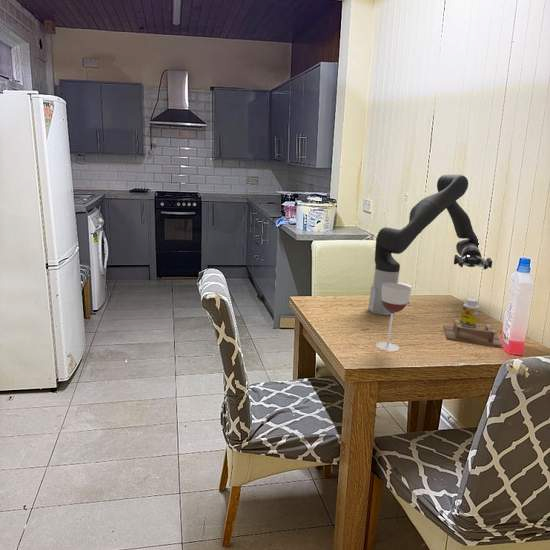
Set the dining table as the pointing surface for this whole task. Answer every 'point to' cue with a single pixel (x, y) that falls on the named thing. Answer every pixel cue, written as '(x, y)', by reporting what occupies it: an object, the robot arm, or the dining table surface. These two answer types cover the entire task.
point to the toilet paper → (410, 291)
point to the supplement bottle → (469, 313)
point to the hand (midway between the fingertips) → (473, 266)
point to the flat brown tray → (472, 334)
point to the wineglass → (393, 307)
